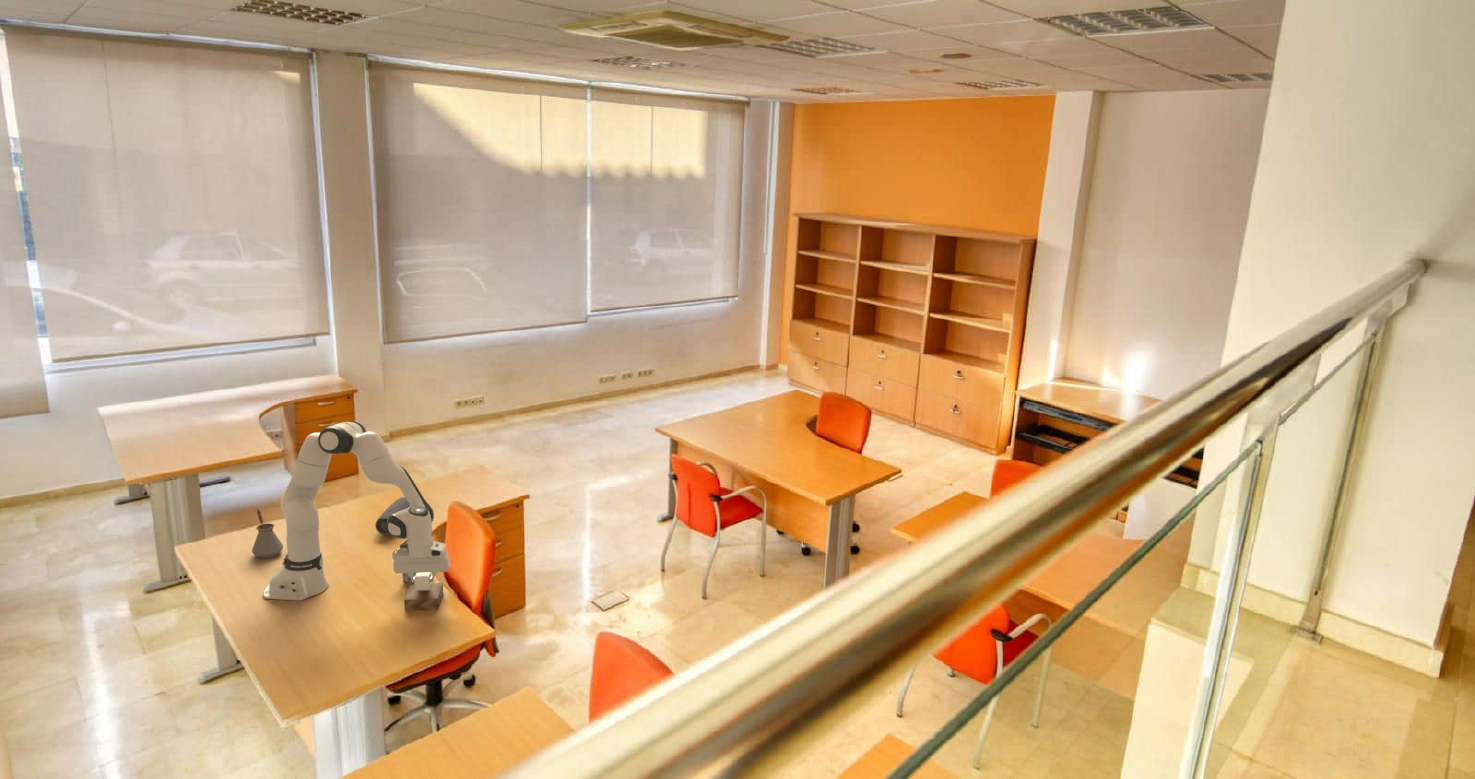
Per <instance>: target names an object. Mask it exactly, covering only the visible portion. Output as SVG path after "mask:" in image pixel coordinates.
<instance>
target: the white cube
mask: <svg viewBox="0 0 1475 779" xmlns="http://www.w3.org/2000/svg"><path fill="white" fill-rule="evenodd" d="M430 576H432V572H423V573H416V576H415V578H414V580H415V583H414V584H415V590H429V588H430V586H431V583H432V582H429V581H430V580H429V578H430Z"/></svg>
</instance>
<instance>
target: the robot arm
mask: <svg viewBox="0 0 1475 779" xmlns="http://www.w3.org/2000/svg"><path fill="white" fill-rule="evenodd" d="M350 452H351V453H353V454H354V455H355V456H356V458H357V460H358V462H359V465H360V467H361V470H362V472H363V474H364V475H365V476H364V477H366V478H367V479H368V480H369V481H371V482H373V483H377V484H391V485H394V486H396V487H398V489H399V490H400V491H401V493H402V494H403V496H404V497H405V498H406V499H407V501H408V502H409V504H410V507H408V508H406V509H404V510H401V511H399V512H396V513H394V514H392V515H390V516H389V517H388V519H387V530H388V532H389V534H388V535H390V536H391V537H394V538H396V539H401V540H403V539H404V540H405V539H406V540H408V549H400V548H399V549H395V550H394V551H392V555H391V556H392V560H393V572H394V573H395V574H402V573H408V576H409V577H410V578H411V579H412V583H411V584H415V580H414V578H415V577H414V576H413V574H412V573H423V572H431V576H430V578H429V580H430V581H429V582H431V583H435V582H434V581H435V577H436V575H437V573H446V572H448V571H450V568H451V559H450V555H449V552H448V550H447V545H446V543H443V542H440V541H437V540H434V538H433V537H432V534H433V521H434V517H435V514H434V510H433V508H432V506H431V505H430V504H429V502H427V501H426V499H425V498H424V496H423V494H422V493H421V491H420V490H419V488H418V486H417V485H416V483H415V482H414V480H413V478H412V477H411V475H410V473H409V472H408V471H407V469H406V468H405V467H403V466H402V465H399V464H397V463H396V462H395V460H394V459H393V457H392V454H391V453H390V450H389V448H388V446H387V444H386V443H385V441H384V440H383V438H382V437H381V435H380V434H379V433H378V432H376V431H372V430H371V431H367V430H366V428H365V426H364V425H363V424H362V423H360V422H357V421H352V420H348V421H342V422H338V423H335V424H332V425H329V426H326V427H325V428H323V429H322V430H321V431H320V432H318V431H317V432H312V433H310V434H308V435H307V436H306V438H305V439H304V441H303V443H302V445H301V448H300V450H299V453H298V456H297V459H296V463H295V466H294V470H293V473H292V476H291V478H290V480H289V483H288V485H287V487H286V490H285V491H284V493H283V494H282V496H281V500H280V508H281V511H282V514H283V515H284V519H285V523H286V539H285V540H286V546H287V553H286V554H285V556H284V558H283V561H282V562H281V563H282V566H281V567H280V568H278V569H277V570H276V571H275V572H274V573H273V574H272V576H271V577H270V581H269V583H268V585H267V586H266V587H265V588H264V590H263V592H262V594H263V595H262V597H263V599H267V600H269V599H270V600H284V601H285V600H287V601H304V600H306V599H307V598H310V597H312V596H317V595H320V594H321V593H323V592H324V591H326V590H327V589H328V587H329V583H328V581H327V579H326V575H325V572H324V568H323V567H324V560H323V554H322V551H321V548H320V547H321V546H320V537H319V531H320V530H319V529H320V528H319V527H320V518H319V517H320V516H319V515H320V514H319V509H318V507H317V505H316V502H315V501H316V497H317V494H318V493H319V491H320V488H321V487H322V486H323V485H324V483H325V479H326V476H327V473H328V469H329V466H330V463H331V459H332V456H333V455H338V454H341V455H342V454H349V453H350Z"/></svg>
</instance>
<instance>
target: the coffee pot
mask: <svg viewBox="0 0 1475 779" xmlns="http://www.w3.org/2000/svg"><path fill="white" fill-rule="evenodd" d="M261 512H262V510H260V509H259V508H257V509H256V510H255V513H256V515H257V516H258V520H259V522H260V524H259V525H257V526H256V527H255V529H256V530H257V532H258V533H257V535H256V538H255V541H254V543H253V546H252V549H251V553H252V554H253V555H254V556H256V557H257V558H259V559H263V560H267V559H272V558H275V557H277V556H278V555H279V554H280V553H281V551H283V548H284V544H283V543H282V541H281V540H280V539H279V538H278V536H277V535H276V533H275V531H274V530H273V529H274V527H275V524H274V523H267V522H266V523H264V520H263V517H262V513H261Z"/></svg>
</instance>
